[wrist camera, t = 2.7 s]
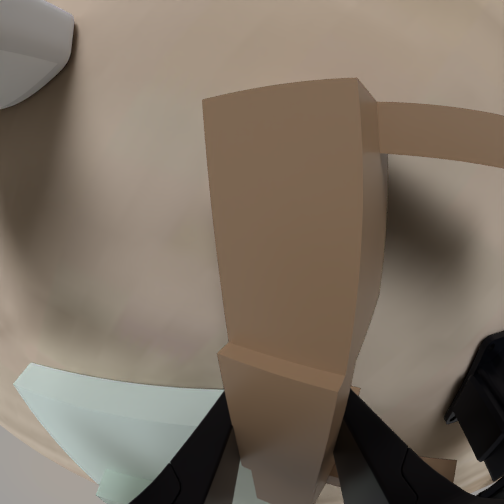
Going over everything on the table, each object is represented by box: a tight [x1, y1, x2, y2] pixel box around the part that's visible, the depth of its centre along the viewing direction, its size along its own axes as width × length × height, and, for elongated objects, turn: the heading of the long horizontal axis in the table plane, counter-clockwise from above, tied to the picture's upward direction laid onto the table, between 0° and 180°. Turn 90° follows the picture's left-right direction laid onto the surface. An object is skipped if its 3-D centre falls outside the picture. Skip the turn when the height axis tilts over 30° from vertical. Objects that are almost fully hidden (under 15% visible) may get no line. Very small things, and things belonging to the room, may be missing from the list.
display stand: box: [13, 363, 270, 504], centre depth 12 cm, size 13×16×4 cm
